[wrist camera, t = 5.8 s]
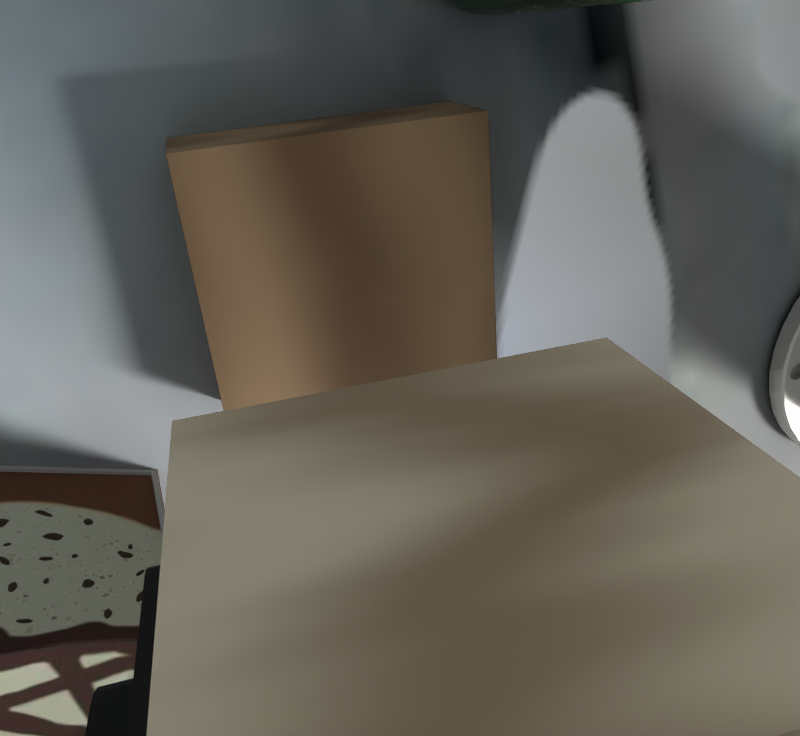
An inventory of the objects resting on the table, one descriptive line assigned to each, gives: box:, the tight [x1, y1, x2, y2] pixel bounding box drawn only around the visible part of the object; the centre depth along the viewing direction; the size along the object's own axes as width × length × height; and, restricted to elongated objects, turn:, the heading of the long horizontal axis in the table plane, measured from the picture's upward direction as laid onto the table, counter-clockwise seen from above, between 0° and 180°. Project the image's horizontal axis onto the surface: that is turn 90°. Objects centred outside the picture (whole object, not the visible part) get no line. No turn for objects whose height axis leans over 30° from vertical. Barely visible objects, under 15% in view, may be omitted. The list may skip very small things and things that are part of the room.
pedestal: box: [166, 101, 497, 411], centre depth 26 cm, size 10×10×4 cm
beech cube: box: [146, 338, 800, 736], centre depth 8 cm, size 6×6×6 cm
